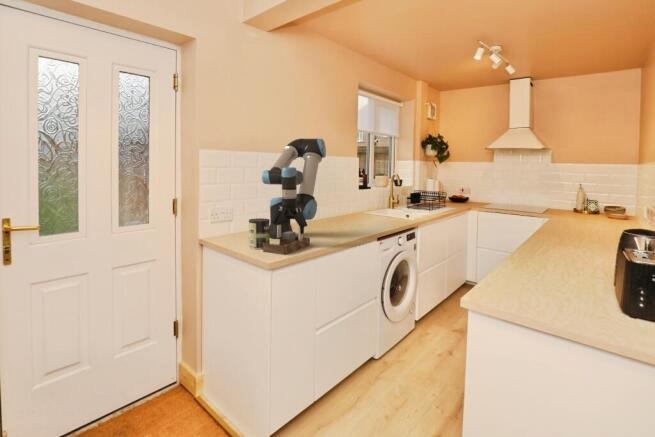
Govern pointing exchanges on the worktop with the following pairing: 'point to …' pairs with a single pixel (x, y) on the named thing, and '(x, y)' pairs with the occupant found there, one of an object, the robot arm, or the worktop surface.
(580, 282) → the worktop surface
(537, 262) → the worktop surface
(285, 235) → the grey block
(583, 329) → the worktop surface
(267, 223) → the coffee can
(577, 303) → the worktop surface
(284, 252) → the comb rack
